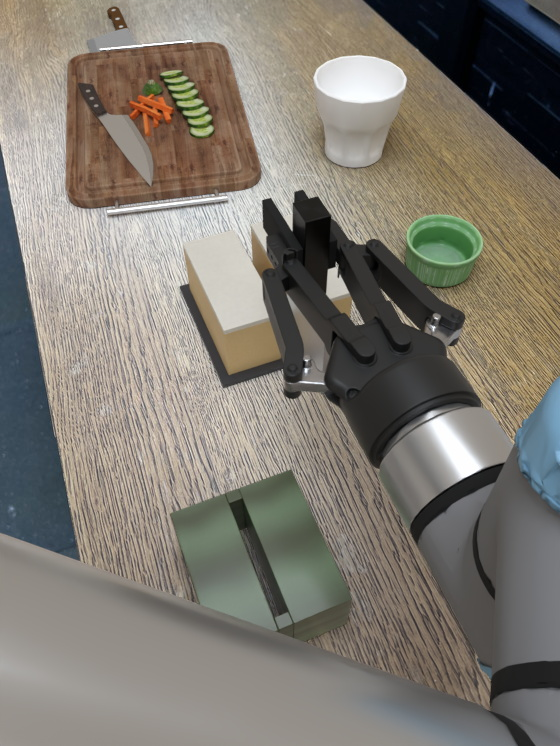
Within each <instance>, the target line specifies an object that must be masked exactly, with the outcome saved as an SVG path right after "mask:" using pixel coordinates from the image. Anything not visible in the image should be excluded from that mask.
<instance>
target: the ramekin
mask: <svg viewBox="0 0 560 746" xmlns="http://www.w3.org/2000/svg"><path fill="white" fill-rule="evenodd" d="M405 243H406V250H405V257H404V258H405V262H404V263H405V266H406V267H407V268H408V269H409V270H410V271H411V272H412V273H413V274H414V275H415V276H416V277H417V278H418V279H419V280H420V281H421V282H422V283H423V284H424V285H426V286H431V287H437V288H450V287H454V286H457V285H460V284H462V283H463V282H465V281H466V280H467V279H468V278H469V277H470V275H471V273H472V271H473V268H474V266H475V263H476V261H477V259H478V258H479V257H480V255H481V253H482V252H483V249H484V238H483V236H482V234H481V232H480V231H479V230H478V228H477V227H476V226H475V225H473V224H472V223H471V222H469V221H467V220H465V219H463V218H461V217H458V216H455V215H450V214H442V213H441V214H440V213H439V214H429V215H425V216H421V217H419V218H418V219H416V220H414V221H413V222H412V223H411V224H410V225H409V226H408V228H407V231H406V234H405Z"/></svg>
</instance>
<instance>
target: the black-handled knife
mask: <svg viewBox="0 0 560 746" xmlns="http://www.w3.org/2000/svg"><path fill="white" fill-rule="evenodd" d="M308 198H309V199H305V200H301V201H297V202H294V201H293V202H292V214H293V228H292V232H293V234H294V236H295V237H296V239H297V240H298V242H299V243H300V245H301V247H302V248H303V266H304V267H305V269H306V270H307V271H308V272H309V274H310V275H311V276H312V277H313V279H314V280H315V281H316V282H317V284H318V285H319V286H320V287H321V289H322V290H323V291H324V292H325V294H326V290H327V275H328V260H329V245H330V230H331V218H332V214H331V213H330V211H329V209H327V207H326V206H325V204H324V203H323V201H322V200H321V198H320V197H319V196H318V195H316V196H313V197H308ZM287 298H288V301H289V303H290V306H291V309H292V312H293V315H294V317H295V320H296V323H297V326H298V329H299V332H300V334H301V337H302V341H303V345H304V355H305V354H308V355H310V356H311V359H313V360H314V361H315V363H316V367H317V368H318V369H319V370H320V371H322V372H325V371H326V367H327V364H328V360H329V354H328V353H327V351H326V348H325V344H324V343H323V341H322V340H321V339H320V337H319V336H318V334H317V333H316V332H315V330H314V329H313V328H312V326H311V325H310V324H309V322H308V321H307V320H306V318H305V317H304V316H303V314H302V313H301V312H300V310H299V309H298V308H297V306H296V305H295V304H294V302H293V301H292V300H291V298H290V297H289V296H288V294H287ZM320 395H325V394H324V393H320Z"/></svg>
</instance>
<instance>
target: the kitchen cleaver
mask: <svg viewBox="0 0 560 746" xmlns="http://www.w3.org/2000/svg"><path fill="white" fill-rule="evenodd" d="M106 13H107V17H108V18H110V19H111V22H112V24H113V27H114V30H112V31H110V32H107V33H104V34H101V35H99V36H96V37H93V38H89V39H87V40H86V44H87V48H88V50H89V53H93V52H100V50H99V48H102V47H113V46H124V45H134V44H138V42H137V41H136V40H135V39H134V37H133V35H132V33H131V32H130V30H129V26H128V25H127V22H126V21H125V17H124V16H123V13H122V12H121V9H120V8H119V7H118V6H115V5H114V6H111V7H109V8H108V9H107V10H106Z"/></svg>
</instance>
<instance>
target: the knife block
mask: <svg viewBox="0 0 560 746" xmlns="http://www.w3.org/2000/svg"><path fill="white" fill-rule="evenodd" d="M169 515H170V519H171V522H172V525H173V528H174V531H175V533H176V534H175V536H176V539H177V540H178V544H179V547H180V550H181V553H182V556H183V560H184V562H185V565H186V569H187V572H188V574H189V578H190V581H191V585H192V587H193V591H194V593H195V596H196V599H197V603H198V604H200V605H203V606H206V607H209V608H211V609H214V610H217V611H220V612H222V613H225V614H228V615H231V616H234V617H236V618H239V619H242V620H245V621H248V622H250V623H253V624H256V625H259V626H261V627H264V628H267V629H270V630H273V631H275V632H278V633H281V634H284V635H286V636H289V637H292V638H295V639H298V640H300V641H303V642H308V641H310V640H312V639H314V638H317V637H319V636H322V635H323V634H324V635H325V634H326V633H328V632H331V631H333V630H336V629H338V628H341V627H343V626H344V625H347V624H348V620H349V615H350V611H351V607H352V604H353V603H352V602H353V597H352V595H351V593H350V591H349V589H348V586H347V584H346V582H345V580H344V577H343V576H342V574H341V572H340V570H339V568H338V567H339V566H338V565H337V563H336V561H335V559H334V557H333V555H332V553H331V551H330V548H329V546H328V544H327V542H326V540H325V537H324V535H323V534H322V531H321V529H320V527H319V525H318V522H317V521H316V519H315V516H314V514H313V512H312V510H311V509H310V506H309V504H308V502H307V500H306V497H305V495H304V494H303V491H302V489H301V487H300V484H299V483H298V481H297V479H296V477H295V475H294V472H293V470H292V469H288V470H286V471H283V472H280V473H277V474H274V475H272V476H269V477H266V478H263V479H260V480H258V481H255V482H253V483H252V482H251V483H250V484H247V485H243V486H242V487H239V488H235V489H233V490H231V491H227V492H225V493H223V494H219V495H216V496H214V497H212V498H209V499H206V500H203V501H200V502H197V503H195V504H192V505H188V506H186V507H183V508H181V509H179V510H175V511H173V512H170V513H169ZM243 530H246V533H247V534H248V538H249V540H250V543H251V545H252V547H253V550H254V552H255V555H256V558H257V560H258V562H259V564H260V568H261V570H262V572H263V575H264V576H265V580H266V582H267V585H268V587H269V590H270V592H271V595H272V597H273V600H274V603H275V605H276V607H277V610H278V612H279V615H276V616H274V615H273V612H272V610H271V608H270V605H269V601H268V599H267V597H266V594H265V592H264V589H263V587H262V584H261V582H260V580H259V577H258V574H257V572H256V569H255V566H254V564H253V561H252V558H251V556H250V554H249V551H248V548H247V546H246V543H245V541H244V539H243V536H242V533H241V531H243Z"/></svg>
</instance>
